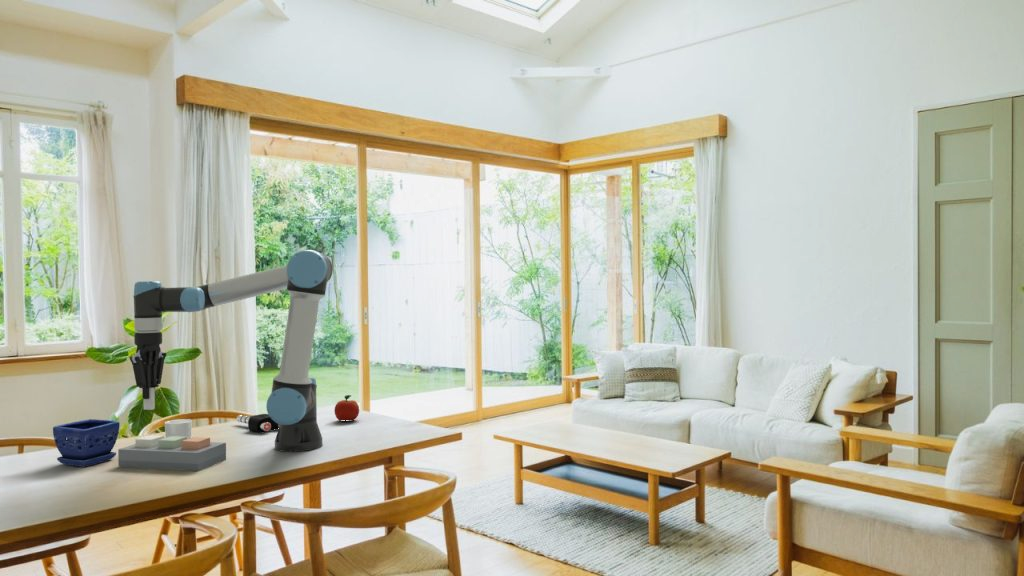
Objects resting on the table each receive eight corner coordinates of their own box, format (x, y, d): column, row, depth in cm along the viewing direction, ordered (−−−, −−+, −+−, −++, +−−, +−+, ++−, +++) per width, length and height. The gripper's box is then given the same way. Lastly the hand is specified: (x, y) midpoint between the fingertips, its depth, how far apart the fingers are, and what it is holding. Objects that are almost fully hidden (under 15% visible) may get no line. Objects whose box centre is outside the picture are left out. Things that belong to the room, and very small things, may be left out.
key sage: (187, 448, 210) (186, 436, 210) (174, 452, 205) (174, 440, 205) (171, 447, 212) (171, 436, 212) (158, 451, 206) (158, 440, 206)
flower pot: (122, 458, 215) (121, 420, 215) (83, 469, 202) (83, 429, 202) (90, 455, 219) (90, 418, 219) (50, 466, 207) (50, 426, 207)
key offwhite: (164, 447, 212) (164, 435, 212) (151, 451, 207) (151, 439, 207) (148, 446, 213) (148, 435, 213) (135, 450, 208) (135, 439, 208)
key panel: (226, 459, 212) (225, 442, 212) (198, 470, 199) (198, 452, 199) (150, 456, 217) (149, 439, 217) (118, 466, 205) (118, 449, 205)
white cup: (181, 455, 218) (180, 424, 218) (159, 454, 219) (159, 423, 219) (197, 449, 225) (197, 419, 225) (176, 449, 227) (175, 418, 227)
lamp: (261, 420, 247) (223, 413, 263) (261, 435, 247) (224, 427, 263) (287, 415, 256) (249, 408, 271) (288, 429, 256) (250, 422, 271)
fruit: (330, 423, 267) (329, 397, 267) (340, 418, 276) (340, 393, 276) (353, 423, 265) (353, 397, 265) (363, 418, 275) (362, 393, 275)
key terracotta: (210, 449, 209) (210, 437, 209) (198, 453, 203) (198, 441, 203) (194, 448, 210) (194, 437, 210) (182, 452, 204) (181, 441, 204)
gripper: (153, 330, 217) (153, 405, 217) (121, 333, 204) (122, 412, 204) (173, 330, 215) (174, 405, 215) (143, 333, 203) (144, 413, 203)
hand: (149, 409), depth 210 cm, fingers closed
